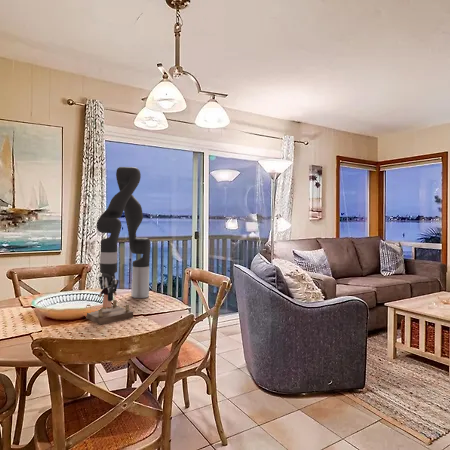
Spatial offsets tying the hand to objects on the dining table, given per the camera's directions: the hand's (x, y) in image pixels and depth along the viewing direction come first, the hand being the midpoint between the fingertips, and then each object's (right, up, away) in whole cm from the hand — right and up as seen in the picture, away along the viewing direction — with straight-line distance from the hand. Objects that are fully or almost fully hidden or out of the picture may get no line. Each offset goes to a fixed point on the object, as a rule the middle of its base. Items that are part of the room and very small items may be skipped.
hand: (108, 299), depth 160 cm
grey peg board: (0, -8, 0) cm, 8 cm away
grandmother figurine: (0, -4, 0) cm, 4 cm away
